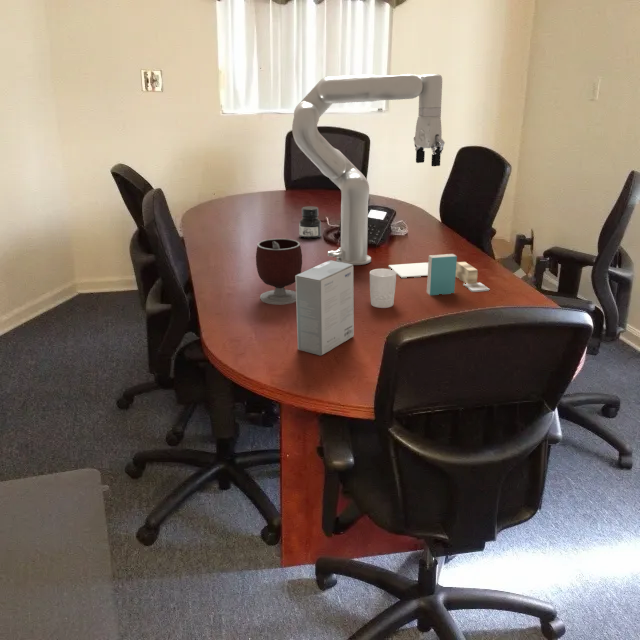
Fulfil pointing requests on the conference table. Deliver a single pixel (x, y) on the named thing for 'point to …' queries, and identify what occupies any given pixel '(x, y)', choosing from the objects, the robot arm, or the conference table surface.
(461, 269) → the cream block on base
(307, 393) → the conference table surface
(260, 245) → the mate gourd
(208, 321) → the conference table surface
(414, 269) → the mat
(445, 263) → the tile
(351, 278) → the hard drive box
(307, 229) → the ink bottle
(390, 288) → the white cup
